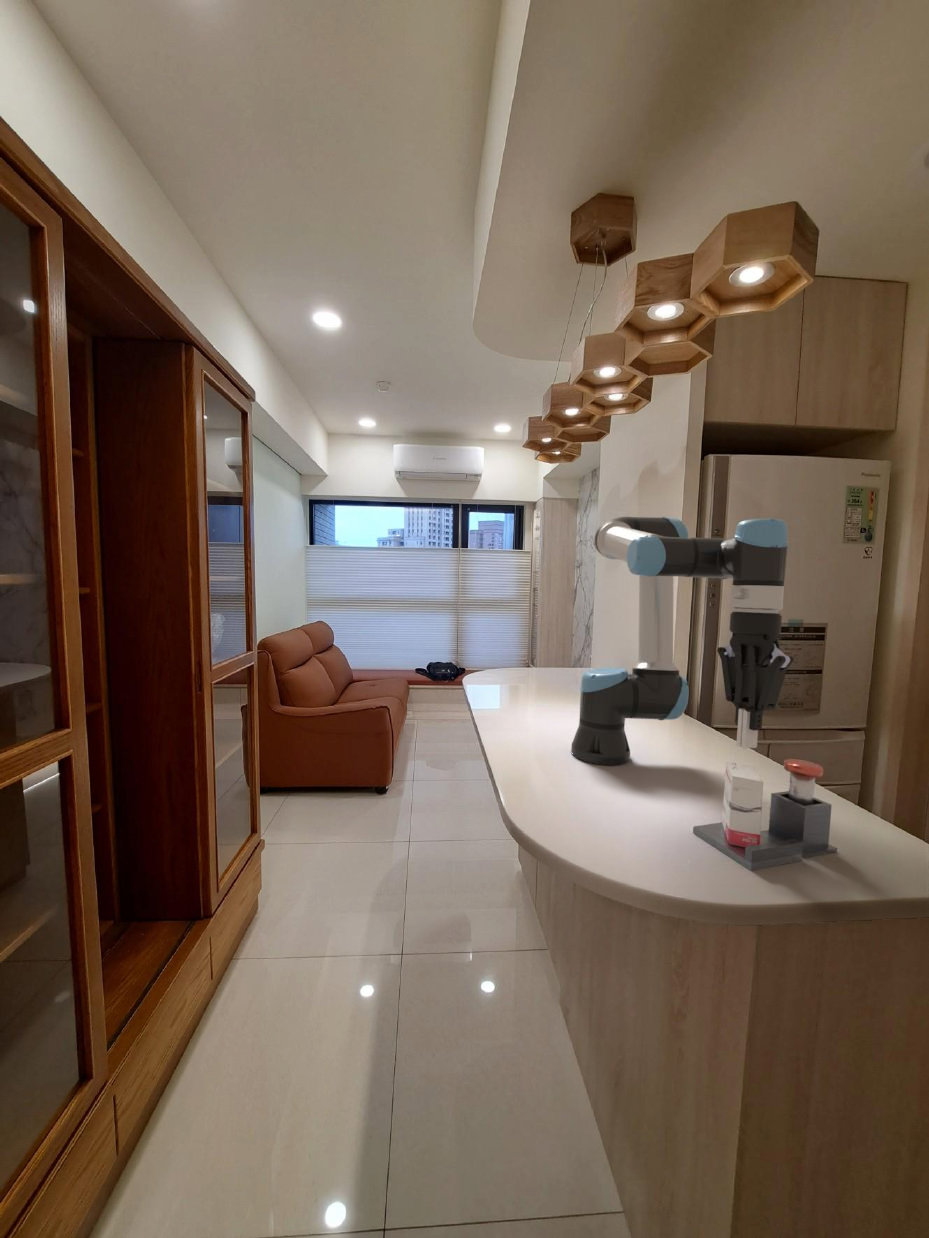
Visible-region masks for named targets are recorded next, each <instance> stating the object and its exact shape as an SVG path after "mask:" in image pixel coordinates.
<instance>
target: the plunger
mask: <svg viewBox="0 0 929 1238" xmlns="http://www.w3.org/2000/svg"><path fill="white" fill-rule="evenodd" d="M783 769H784V770H785V771H786V772H789V785H788V791H789V796H788V799H790V800H792V801H794V802H796V803H798V804H801V805H803V806H808V805H813V801H814V798H815V788H816V787H815V785H816V784H815V783H816V779H817V778H822V777H823V776H824V767H823V766H822V765H820V764H818V763H815V762H812V761H809V760H803V759H796V758H786V759H784V761H783Z"/></svg>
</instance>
